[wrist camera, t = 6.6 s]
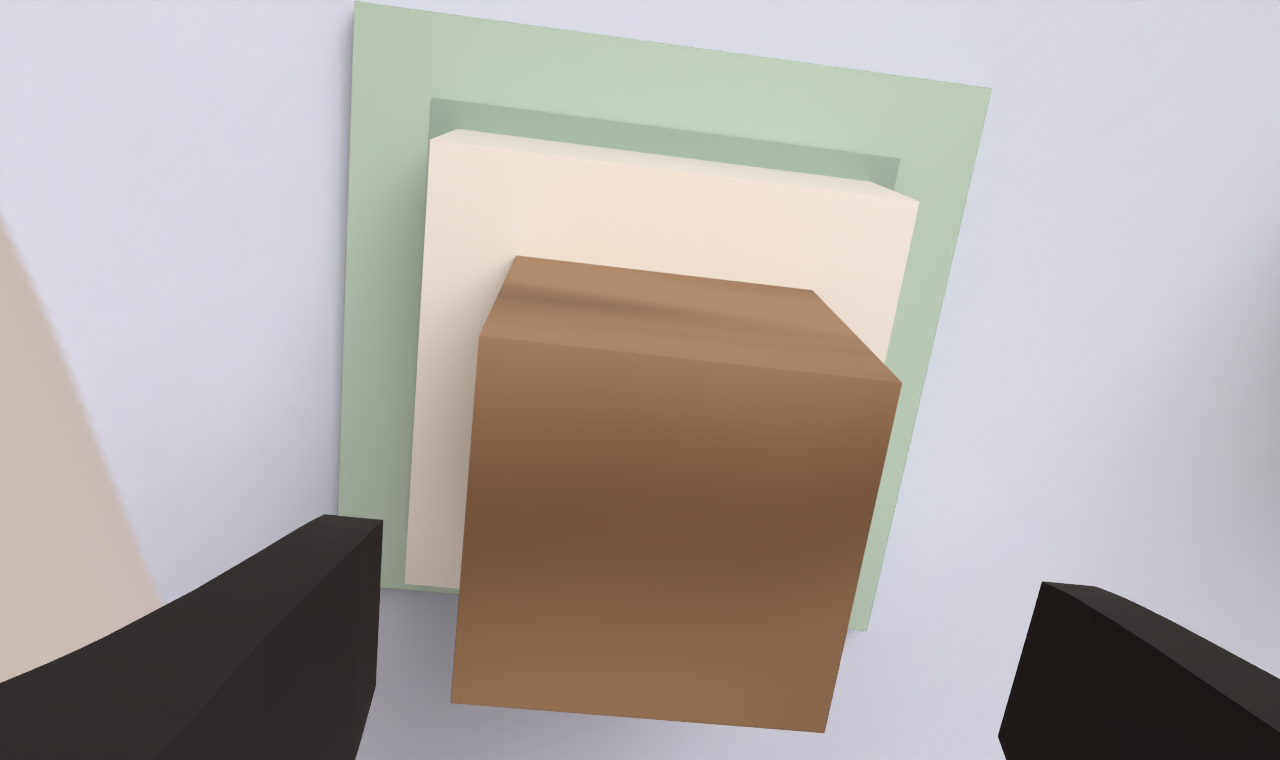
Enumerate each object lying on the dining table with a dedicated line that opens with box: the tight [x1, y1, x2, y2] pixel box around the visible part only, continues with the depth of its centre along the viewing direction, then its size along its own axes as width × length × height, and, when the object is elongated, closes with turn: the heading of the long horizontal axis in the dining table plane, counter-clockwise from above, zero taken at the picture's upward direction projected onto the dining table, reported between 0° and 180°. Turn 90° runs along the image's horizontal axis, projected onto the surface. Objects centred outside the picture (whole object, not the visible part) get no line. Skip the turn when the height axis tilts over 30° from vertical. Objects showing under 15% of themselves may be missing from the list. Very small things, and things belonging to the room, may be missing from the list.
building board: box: [338, 1, 992, 631], centre depth 20 cm, size 12×12×1 cm
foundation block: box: [405, 129, 920, 589], centre depth 18 cm, size 8×8×3 cm
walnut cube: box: [451, 255, 902, 733], centre depth 14 cm, size 5×5×5 cm
